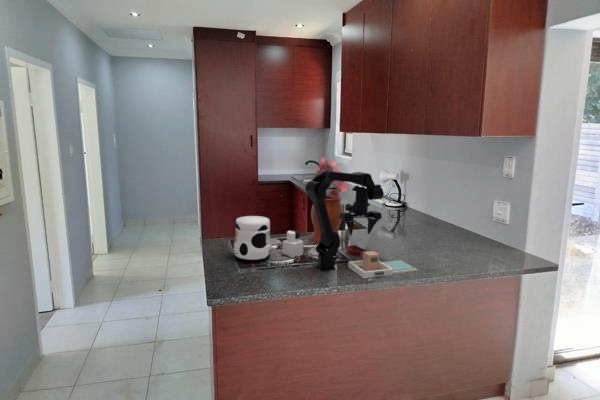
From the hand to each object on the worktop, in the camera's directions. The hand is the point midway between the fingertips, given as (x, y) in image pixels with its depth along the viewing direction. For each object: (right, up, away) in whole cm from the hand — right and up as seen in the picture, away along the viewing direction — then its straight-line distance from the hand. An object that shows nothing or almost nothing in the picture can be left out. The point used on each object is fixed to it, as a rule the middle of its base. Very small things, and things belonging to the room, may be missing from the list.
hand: (359, 234), depth 184 cm
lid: (+16, -14, -4) cm, 22 cm away
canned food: (+1, -11, +14) cm, 18 cm away
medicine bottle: (-31, -11, +9) cm, 34 cm away
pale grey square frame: (+3, -15, -9) cm, 18 cm away
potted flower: (-13, -7, +33) cm, 36 cm away
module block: (+3, -15, -9) cm, 18 cm away
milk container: (-49, -11, +4) cm, 50 cm away
